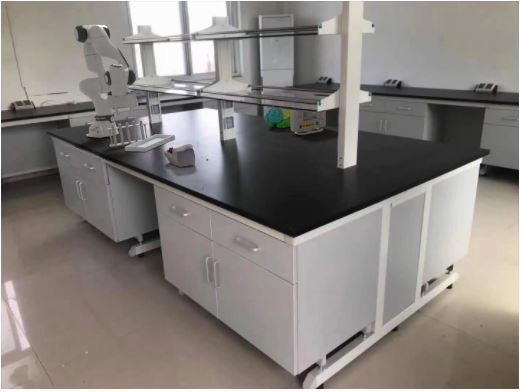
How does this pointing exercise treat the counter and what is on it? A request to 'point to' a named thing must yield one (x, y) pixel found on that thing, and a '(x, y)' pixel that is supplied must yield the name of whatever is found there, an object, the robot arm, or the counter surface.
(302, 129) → the network device
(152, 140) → the tray
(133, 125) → the test tube rack
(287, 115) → the brain model
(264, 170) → the counter surface
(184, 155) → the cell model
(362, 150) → the counter surface
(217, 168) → the counter surface
